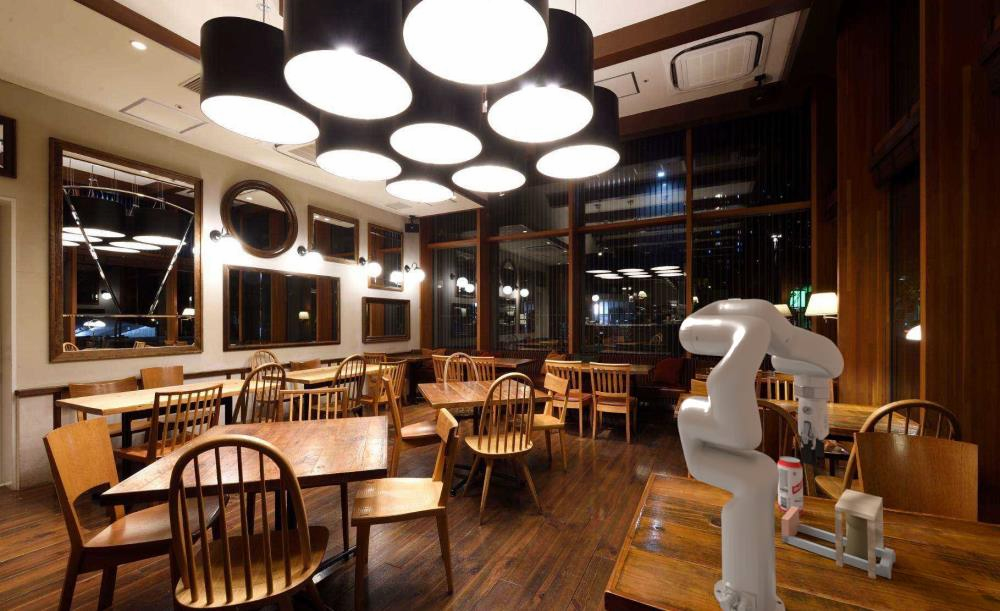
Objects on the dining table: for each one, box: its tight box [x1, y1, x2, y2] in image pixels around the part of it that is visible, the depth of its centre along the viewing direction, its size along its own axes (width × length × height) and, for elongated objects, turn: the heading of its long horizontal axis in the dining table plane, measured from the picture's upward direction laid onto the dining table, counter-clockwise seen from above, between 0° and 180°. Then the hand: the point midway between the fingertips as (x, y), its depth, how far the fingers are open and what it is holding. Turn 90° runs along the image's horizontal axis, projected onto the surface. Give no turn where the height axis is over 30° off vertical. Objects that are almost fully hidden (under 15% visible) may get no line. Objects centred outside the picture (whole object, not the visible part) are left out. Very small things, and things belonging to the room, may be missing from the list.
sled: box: [780, 506, 896, 580], centre depth 104 cm, size 21×10×6 cm, turn 42°
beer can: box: [776, 455, 804, 517], centre depth 125 cm, size 6×6×16 cm
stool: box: [834, 488, 885, 580], centre depth 101 cm, size 7×14×14 cm, turn 132°
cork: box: [844, 513, 878, 564], centre depth 101 cm, size 6×6×11 cm
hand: (812, 459), depth 108 cm, fingers open, 7 cm apart
